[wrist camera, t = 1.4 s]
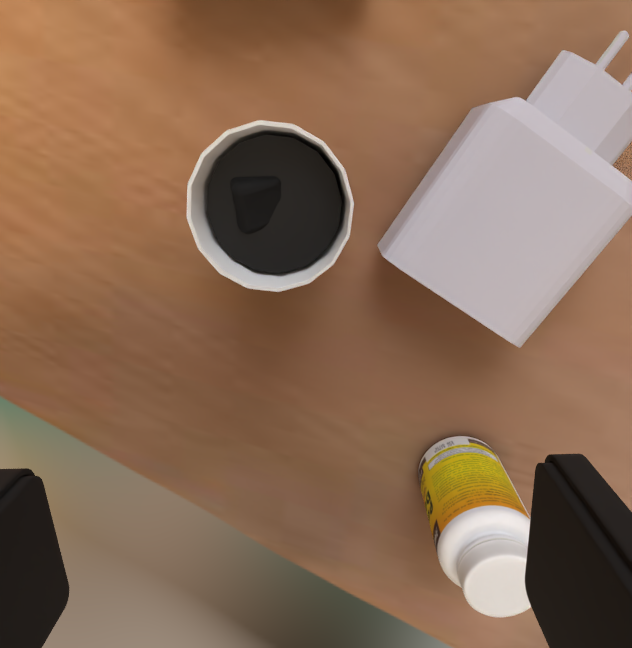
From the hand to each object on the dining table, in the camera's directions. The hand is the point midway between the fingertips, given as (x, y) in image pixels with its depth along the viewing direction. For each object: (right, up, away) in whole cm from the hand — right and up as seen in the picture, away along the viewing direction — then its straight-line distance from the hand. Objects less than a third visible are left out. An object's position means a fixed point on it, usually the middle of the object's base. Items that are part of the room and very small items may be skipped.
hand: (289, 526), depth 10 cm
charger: (+12, +12, +20) cm, 26 cm away
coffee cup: (-1, +12, +20) cm, 23 cm away
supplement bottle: (+10, -6, +26) cm, 28 cm away
